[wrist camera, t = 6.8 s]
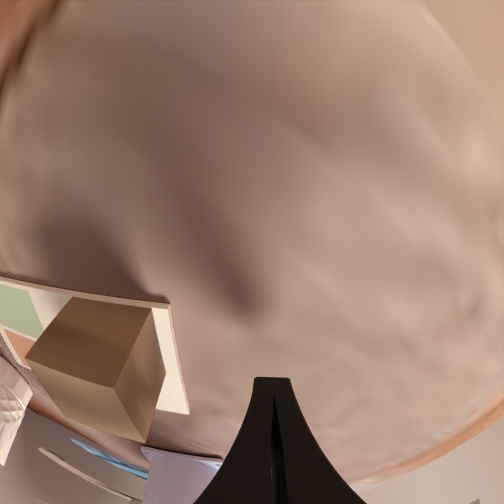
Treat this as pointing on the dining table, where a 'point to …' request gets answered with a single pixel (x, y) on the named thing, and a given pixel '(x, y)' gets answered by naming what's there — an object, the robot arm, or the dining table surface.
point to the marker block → (102, 366)
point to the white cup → (11, 405)
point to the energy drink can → (135, 501)
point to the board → (49, 305)
